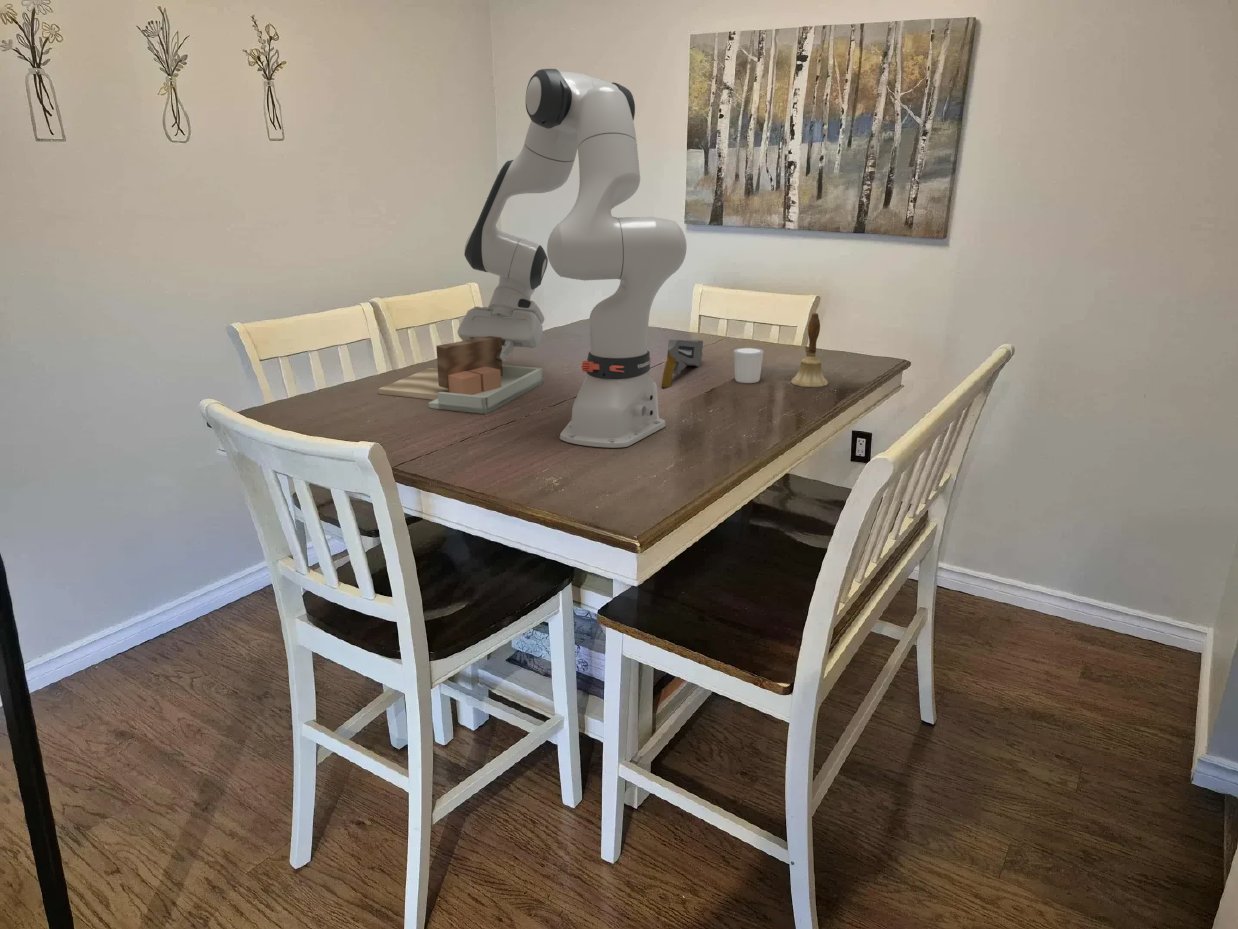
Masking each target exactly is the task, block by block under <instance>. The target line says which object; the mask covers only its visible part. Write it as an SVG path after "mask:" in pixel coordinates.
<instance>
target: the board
mask: <svg viewBox="0 0 1238 929" xmlns="http://www.w3.org/2000/svg"><path fill="white" fill-rule="evenodd" d="M377 390H378V391H377V392H378V395H383V396H394V397H404V398H413V399H422V400H423V399H424V400H431V401H433V400H436V399H438V392H448V393H449V388H444V387H440V386H439V382H438V368H432V367H428V368H426V369H423V370H421V371H419V372H416V373H413V374H411V375H409V376H406V377H403V378H400V379H398V380H397V381H395V382H392V383H389V384H386V385H385V386H381V387H379V388H377Z"/></svg>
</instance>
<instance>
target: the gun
mask: <svg viewBox="0 0 1238 929" xmlns="http://www.w3.org/2000/svg"><path fill="white" fill-rule="evenodd" d="M667 343H668V345H667V346H668V347H667V354H666V357H667V359H666V362H665V365H664V368H663V373H662V381H661V388H662V389H668V388H670V387H671V385H672V378H673V375H681V371H682V370H683V369H685V366H686V367H696V368H697V367H698V368H699V367H701V364H702V358H703V348H704V346H703V344H704V340H703V339H686V340H684V339H673V338H671V339H668V342H667Z"/></svg>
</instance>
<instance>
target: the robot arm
mask: <svg viewBox="0 0 1238 929" xmlns="http://www.w3.org/2000/svg"><path fill="white" fill-rule="evenodd" d="M525 92H526V93H525V108H526V110H525V111H526V112H527V115H528V116H529V119H530V123H529V125H528V128H527V133H526V135H525V139H524V143H523V146H522V149H521V150H520V152H519V154H518V155H517V156H516V157H515V158H514V159H512V160H511V159H510V160H506V162H505V163H504V164H503V166H502V167H501V169H500V170H499V172H498V173H497V176H496V178H495V180H494V182H493V184H492V187H491V189H490V191H489V194H488V195H487V197H486V199H485V200H486V201H485V203H484V205H483V208H482V209H481V212H480V215H479V217H478V219H477V221H476V223H475V226H474V228H473V229H472V230H471V232H470V234H469V235H468V237H467V239H466V241H465V245H464V252H463V253H464V255H463V256H464V258H465V259H466V261H467V263H468V264H469V266H470V267H471V268H472V269H473V270H476V271H480V272H485V273H489V274H492V275H496V276H499V278H498V279H499V282H498V285H497V286H496V287H495V289H494V291H493V292H492V293H493V294H492V295H491V299H490V301H489V304H488V306H474V307H473V308H470V309H468V310H467V312H466V314H465V316H464V317H463V319H462V321H461V323H460V325H459V327H458V329H457V335H458V337H459V339H461V341H465V340H471V339H476V338H482V337H487V336H493V337H502V350H501V351H498V352H497V355H496V359H498V361H502V362H505V360H506V358H507V356H508V355H509V354H510V353H512V351H513V352H514V350H515V347H516V348H529V349H534V348H536V347H537V346H538V345H539V344H540V342H541V338H542V334H543V328H544V326H543V325H542V324H543V323H544V321H545V317H544V316H545V315H544V313H543V312H542V310H541V309H540V307H539V306H538V305H537V303H536V302H535V301H533V300H531V296H533V294H534V292H535V290H536V289H537V288H538V287H539V286H541V284H542V281H543V278H544V275H545V273H546V271H547V268H548V262H549V263H550V266H551V268H552V269H553V271H554V272H555V273H556V274H557V275H558V276H559V277H560V278H565V279H566V278H567V279H571V280H579V281H601V280H602V281H605V280H619V281H620V282H619V286H618V288H617V289H616V291H615V292H614V293H613V294H611V295H610V296H608V297H606V298H604V299H603V300H601V301H600V302H598V303H597V304H595V306H594V307H592V310H591V311H590V314H589V320H588V321H589V352H588V353H587V358H586V360H583V361H582V362H581V370H582V372H585V373H586V377H585V379H584V381H583V383H582V384H581V387H580V389H579V391H578V393H577V395H576V397H575V400H574V402H573V405H572V408H571V409H572V410H571V419H570V421H569V422H568V423H567V425H566V426H565V427H564V428H563V430H561V432H560V434H559V439H560V440H561V441H563V442H566V443H570V444H574V445H579V446H586V447H595V448H609V449H610V448H612V449H614V448H627V447H630V446H631V445H633V444H635V443H637V442H639V441H640V440H643V439H645V438H647V437H648V436H650V435H652V434H653V433H656V432H658V431H659V430H661V429H664V428H665V427H666V420H664V419H663V418H661V417H660V416H659V414H660V413H659V402H658V401H659V399H658V386H657V383H656V382H655V381H654V379H652V376H651V375H650V372H649V371H650V370H651V354H650V353H651V352H650V351H649V350H648V343H649V341H648V337H649V322H650V320H649V319H650V313H651V308H652V305H653V303H654V300H655V298H656V295H657V294H658V292H659V290H660V289H661V287H662V286H663V285H664V283H665V282H666V281H667V280H668V279H669V278H670V277H671V276H672V275H674V274H675V273H677V271H679V269H680V267H682V265H683V263H684V261H685V258H686V255H687V239H686V235H685V233H684V231H683V229H682V227H681V226H680V225H679V224H678V222H676V221H675V220H670V219H667V218H661V217H654V216H632V217H616V216H613V215H612V209H614V208H615V207H617V206H619V205H620V204H622V203H624V202H626V201H627V200H629V199H630V198H632V197H633V196H634V195H635V193H637V191H638V189H639V187H640V183H641V172H640V163H639V162H640V161H639V153H638V152H639V151H638V144H637V143H638V142H637V135H636V129H635V124H634V120H635V116H636V104H635V100H634V96H633V94H632V92H631V90H630V89H628V88H627V87H626V86H624V85H621V84H620V83H617V82H614V81H613V82H610V81H607V80H604V79H602V78H598V77H594V76H591V75H588V74H586V73H581V72H574V71H567V70H566V71H565V70H558V69H557V68H541V69H538V70H536V72H534V74H533V75H532V76H531V77H530V79H529V81H528V84H527V88H526V91H525ZM577 153H578V154H577ZM577 155H578V167H579V170H578V171H579V187H578V194H577V197H576V200H575V203H574V205H573V207H572V209H571V210H570V212H569V213H568V214H567V215H566V216H565V217H564V218H563V219H562V220H561V221H560V222H559V223H557V224H555V226H554V228H553V229H552V230H551V232H550V234H549V236H548V239H547V240H548V241H547V245H546V250H544V247H543V246H542V245H541V244H538V243H537V242H534V241H531V240H528V239H525V238H523V237H519V236H515V235H513V234H509V233H507V232H503V231H501V230H500V229H498V227H497V223H498V221H499V218H500V216H501V215H502V213H503V210H504V207H505V205H506V203H507V201H508V200H509V199H510V198H511V197H512V196H518V195H523V194H526V195H527V194H544V193H549V192H552V191H555V190H558V189H560V187H562V186H564V184H566V182H567V181H568V179H569V177H570V175H571V172H572V170H573V167H574V164H575V160H576V157H577ZM503 346H504V347H503Z"/></svg>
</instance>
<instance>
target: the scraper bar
mask: <svg viewBox="0 0 1238 929" xmlns="http://www.w3.org/2000/svg"><path fill="white" fill-rule="evenodd" d="M435 347H436V360H437V361H436V362H437V369H438V382H439V386H440V387H444V388H449V383H448V375H451V374H455V373H459V372H463V371H469V370H473V369H477V368H481V367H485V366H486V367H491V368H495V369H499V370H500V373H501V376H503V368H502V365H503V361H498V359H496V355H497V352H498V351H501V350H502V349H503V346H502V337H493V336H487V337H482V338H476V339H471V340H465V341H462V340H461V341H456V342H455V341H454V342H449V343H443V344H439V345H436V346H435Z"/></svg>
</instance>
